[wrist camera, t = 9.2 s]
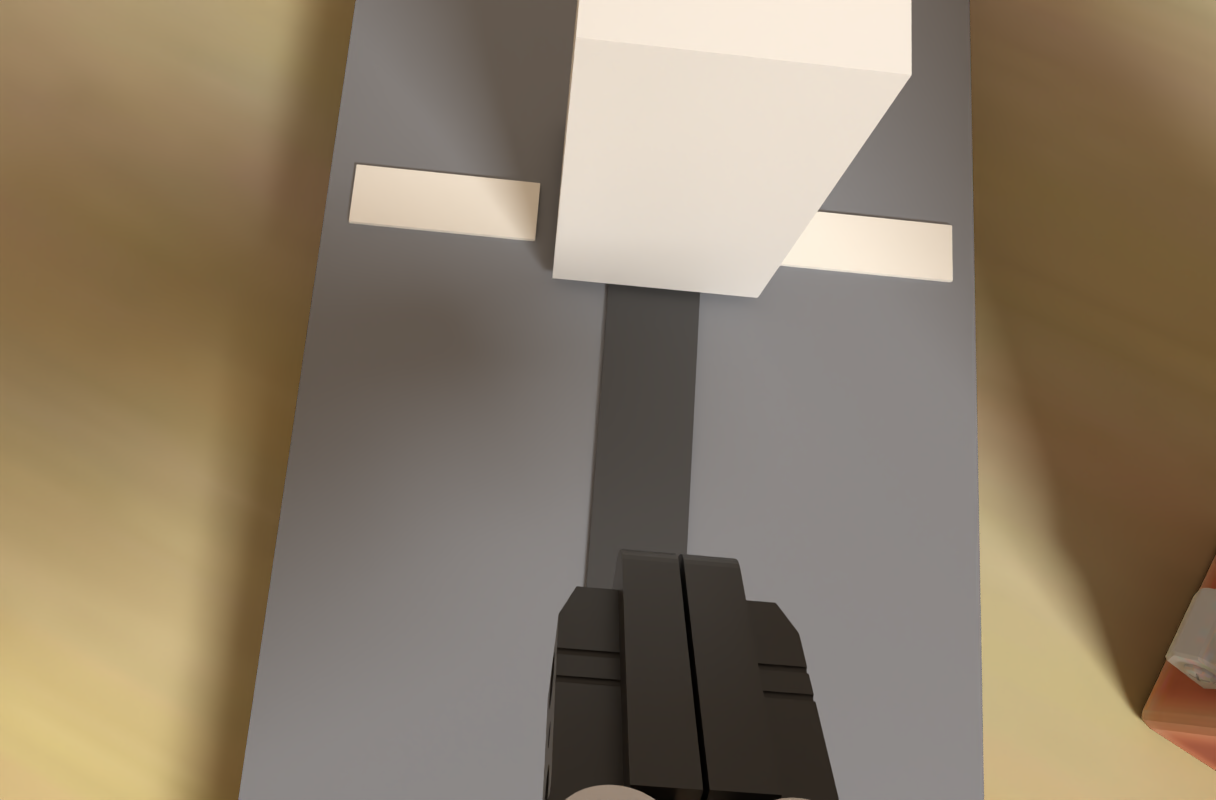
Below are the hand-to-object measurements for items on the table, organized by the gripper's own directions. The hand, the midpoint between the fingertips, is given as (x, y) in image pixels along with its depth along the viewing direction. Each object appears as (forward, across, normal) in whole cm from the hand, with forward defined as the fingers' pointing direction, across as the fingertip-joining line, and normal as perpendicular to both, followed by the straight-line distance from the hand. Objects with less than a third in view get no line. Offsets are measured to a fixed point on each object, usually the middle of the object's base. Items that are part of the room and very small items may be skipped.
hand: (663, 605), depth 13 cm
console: (+9, 0, +3) cm, 9 cm away
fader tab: (+9, 0, -2) cm, 10 cm away
